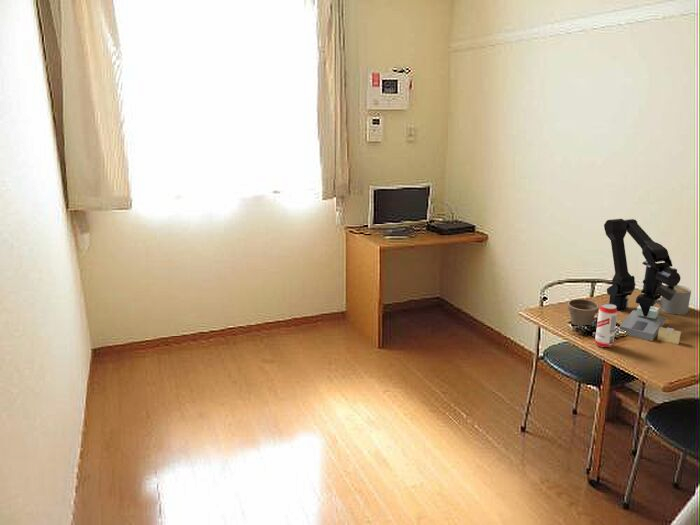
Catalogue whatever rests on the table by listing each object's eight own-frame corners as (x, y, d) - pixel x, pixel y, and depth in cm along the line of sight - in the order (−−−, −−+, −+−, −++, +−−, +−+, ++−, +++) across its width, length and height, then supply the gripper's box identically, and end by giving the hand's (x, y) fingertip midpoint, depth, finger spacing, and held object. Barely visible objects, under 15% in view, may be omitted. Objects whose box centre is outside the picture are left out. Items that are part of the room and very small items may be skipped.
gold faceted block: (678, 344, 201) (680, 332, 199) (657, 339, 205) (659, 327, 203) (679, 342, 202) (681, 330, 201) (658, 337, 207) (660, 325, 205)
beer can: (605, 350, 198) (610, 310, 193) (590, 343, 203) (595, 304, 198) (616, 346, 200) (622, 307, 195) (602, 340, 206) (607, 301, 201)
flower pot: (580, 335, 210) (582, 311, 207) (559, 324, 220) (561, 301, 217) (602, 329, 214) (605, 306, 211) (581, 319, 224) (583, 296, 221)
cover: (636, 314, 218) (637, 306, 217) (639, 310, 221) (640, 303, 220) (655, 318, 213) (656, 311, 212) (658, 314, 217) (659, 307, 216)
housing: (618, 333, 211) (619, 325, 210) (632, 316, 225) (633, 309, 224) (652, 341, 203) (653, 333, 202) (664, 323, 218) (665, 316, 217)
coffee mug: (687, 308, 232) (691, 286, 228) (687, 316, 224) (691, 294, 220) (652, 302, 238) (655, 281, 235) (650, 310, 230) (654, 288, 227)
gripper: (670, 289, 201) (664, 327, 206) (680, 275, 214) (674, 311, 219) (638, 283, 208) (632, 320, 213) (649, 270, 221) (644, 305, 226)
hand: (647, 314), depth 217 cm, fingers closed on cover, 5 cm apart
